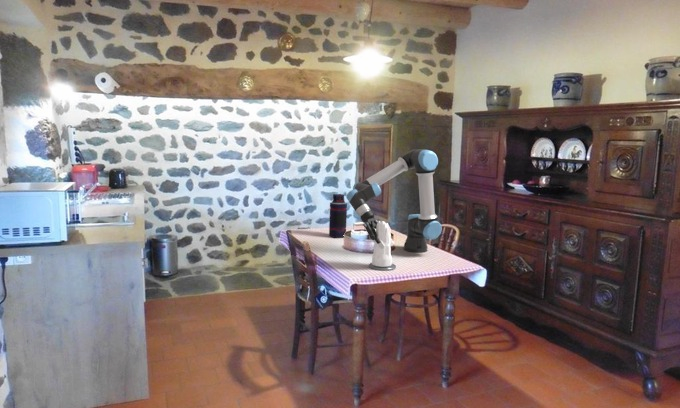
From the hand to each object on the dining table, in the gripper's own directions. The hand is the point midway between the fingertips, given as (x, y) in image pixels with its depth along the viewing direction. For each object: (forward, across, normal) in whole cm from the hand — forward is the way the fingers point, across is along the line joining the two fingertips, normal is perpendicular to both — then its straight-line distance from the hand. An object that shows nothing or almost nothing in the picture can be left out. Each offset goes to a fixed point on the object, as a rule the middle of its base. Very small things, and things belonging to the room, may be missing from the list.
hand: (388, 246), depth 266 cm
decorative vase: (+5, 0, -10) cm, 12 cm away
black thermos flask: (-40, -44, -58) cm, 83 cm away
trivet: (+6, 0, -11) cm, 13 cm away
